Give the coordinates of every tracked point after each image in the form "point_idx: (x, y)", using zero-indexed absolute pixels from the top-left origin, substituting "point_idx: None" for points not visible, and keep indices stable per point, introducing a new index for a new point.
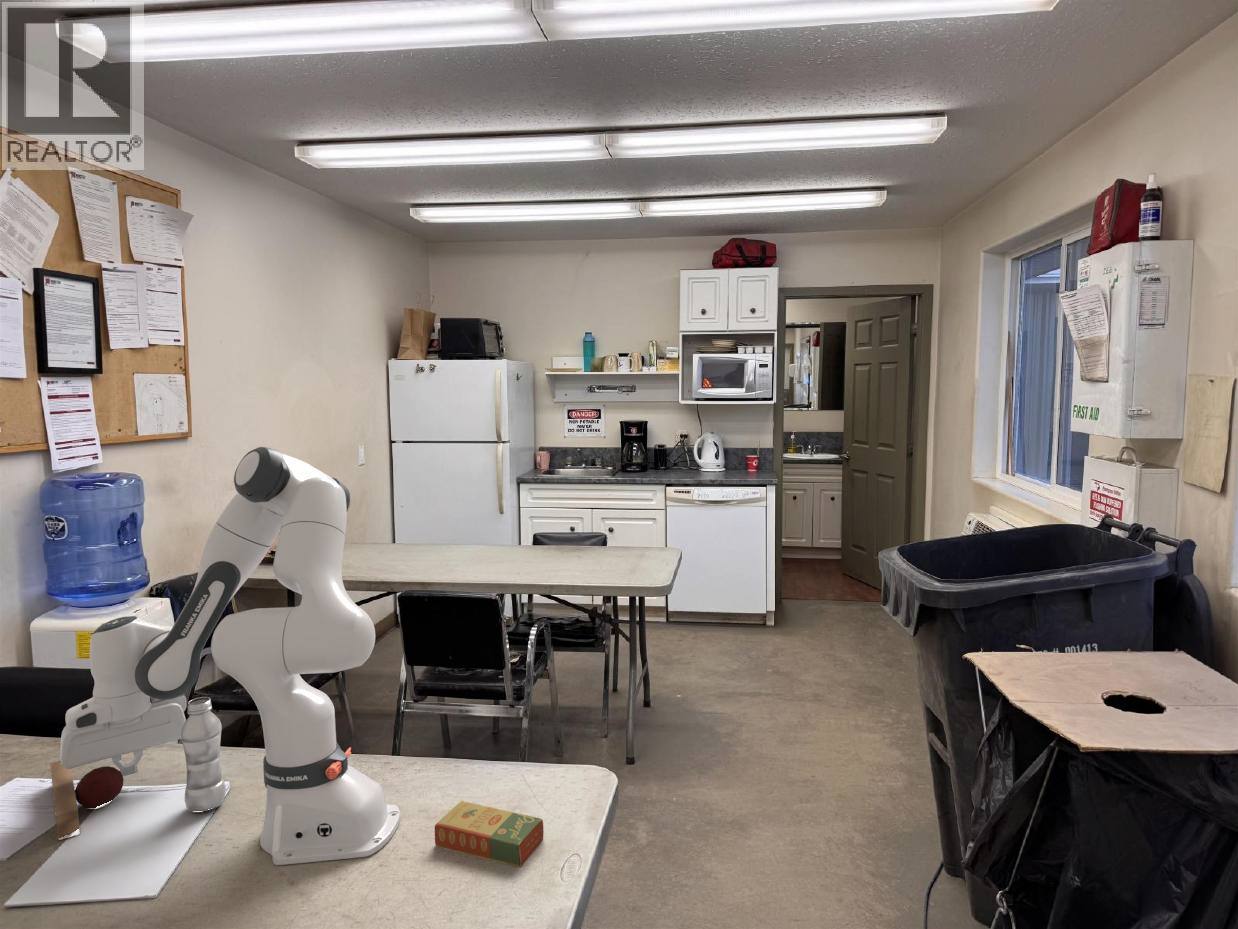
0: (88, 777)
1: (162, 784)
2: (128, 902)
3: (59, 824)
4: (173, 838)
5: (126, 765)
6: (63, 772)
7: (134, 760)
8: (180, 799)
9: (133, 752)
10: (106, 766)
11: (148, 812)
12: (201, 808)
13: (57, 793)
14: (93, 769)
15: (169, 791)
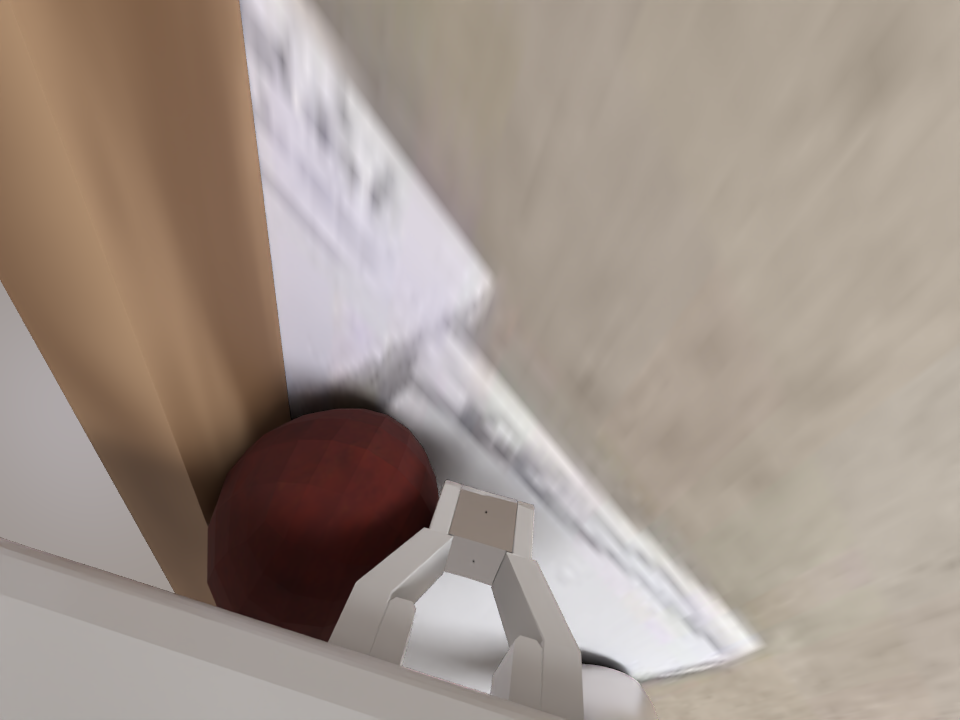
0: None
1: (612, 499)
2: None
3: None
4: (475, 680)
5: (462, 560)
6: (56, 260)
7: (506, 604)
8: (580, 609)
9: (508, 654)
10: (320, 607)
11: (479, 592)
12: None
13: (139, 507)
14: (240, 611)
15: (591, 556)
